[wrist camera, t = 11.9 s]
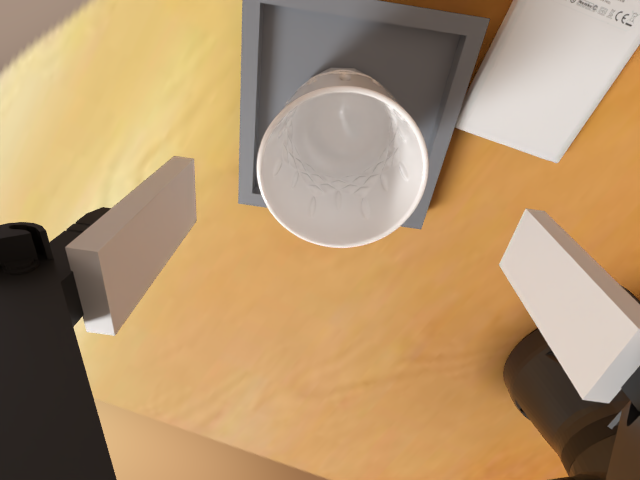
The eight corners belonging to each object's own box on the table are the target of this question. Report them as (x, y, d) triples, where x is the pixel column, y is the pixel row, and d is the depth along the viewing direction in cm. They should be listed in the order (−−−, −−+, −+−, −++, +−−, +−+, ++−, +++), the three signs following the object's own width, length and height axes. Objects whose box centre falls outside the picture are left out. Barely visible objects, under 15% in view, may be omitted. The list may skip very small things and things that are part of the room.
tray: (479, 17, 23) (490, 18, 21) (416, 216, 30) (421, 229, 29) (250, -20, 22) (243, -22, 21) (244, 192, 30) (238, 203, 28)
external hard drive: (448, 121, 27) (558, -99, 20) (548, 156, 28) (683, -43, 21) (454, 128, 25) (574, -106, 19) (559, 164, 27) (707, -45, 20)
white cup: (334, 27, 23) (332, 41, 14) (423, 112, 25) (465, 168, 17) (260, 126, 26) (223, 185, 18) (345, 193, 29) (348, 273, 20)
